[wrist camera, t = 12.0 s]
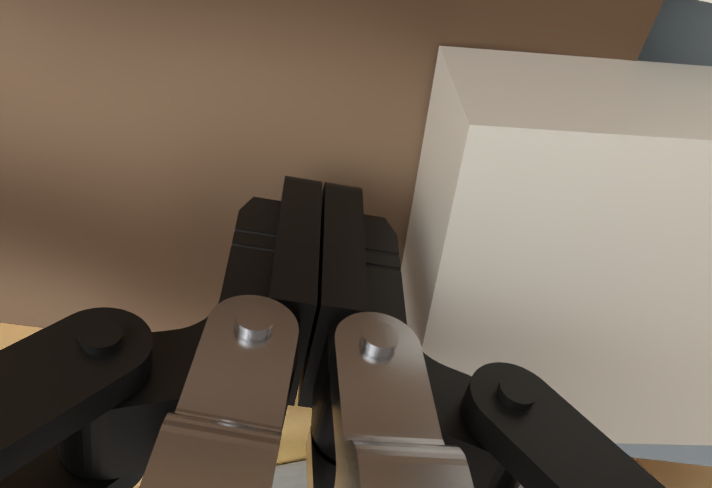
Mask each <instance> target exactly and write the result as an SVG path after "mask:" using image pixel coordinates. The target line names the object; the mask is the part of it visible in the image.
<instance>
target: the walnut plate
mask: <svg viewBox="0 0 712 488" xmlns="http://www.w3.org/2000/svg"><path fill="white" fill-rule="evenodd" d="M663 2H664V0H0V323H8V324H16V325H24V326H32V327H40V328H46V327H48V326H50V325H52V324H54V323H56V322H58V321H60V320H62V319H64V318H65V317H67V316H69V315H72V314H74V313H76V312H79V311H82V310H86V309H91V308H99V307H110V308H118V309H123V310H126V311H129V312H131V313H133V314H135V315H137V316H139V317H140V318H142V319H143V320H144V321H145V322H146V323H147V325H148V326H149V327H150V329H151V332H157V331H167V330H175V329H181V328H185V327H188V326H191V325H194V324H196V323H198V322H200V321H202V320H204V319H205V318H206V317H208V316H209V314H210V312H211V311H212V309H213V308H214V307H215V306H216V305H218V302H219V299H220V295H221V290H222V286H223V281H224V277H225V272H226V267H227V263H228V258H229V254H230V249H231V245H232V240H233V235H234V232H235V226H236V222H237V217H238V212H239V210H240V209H241V208H242V207H243V206H244V205H245V204H246V203H247V202H248V201H249V200H250V199H251V198H252V197H260V198H266V199H272V200H278V201H281V196H282V190H283V184H284V178H285V175H286V176H292V177H298V178H304V179H310V180H316V181H322V190H323V186H324V183H325V182H329V183H335V184H341V185H347V186H353V187H359V188H362V190H363V209H364V214H365V215H372V216H378V217H384V218H386V220H387V221H388V223H389V224H390V226H391V227H392V228H393V230H394V231H395V233H396V234H397V238H398V247H399V257H400V265H401V266H402V260H403V254H404V248H405V243H406V237H407V231H408V225H409V219H410V213H411V208H412V202H413V196H414V190H415V184H416V178H417V172H418V167H419V161H420V155H421V149H422V143H423V137H424V132H425V126H426V120H427V114H428V108H429V102H430V97H431V91H432V85H433V79H434V73H435V67H436V61H437V56H438V50H439V46H451V47H464V48H477V49H490V50H503V51H516V52H530V53H543V54H556V55H569V56H582V57H595V58H608V59H619V60H631V61H637V59H638V56H639V54H640V52H641V50H642V48H643V46H644V43H645V41H646V39H647V37H648V35H649V32H650V30H651V28H652V26H653V24H654V21H655V19H656V17H657V15H658V13H659V10H660V8H661V6H662V4H663ZM400 272H401V270H400Z"/></svg>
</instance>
